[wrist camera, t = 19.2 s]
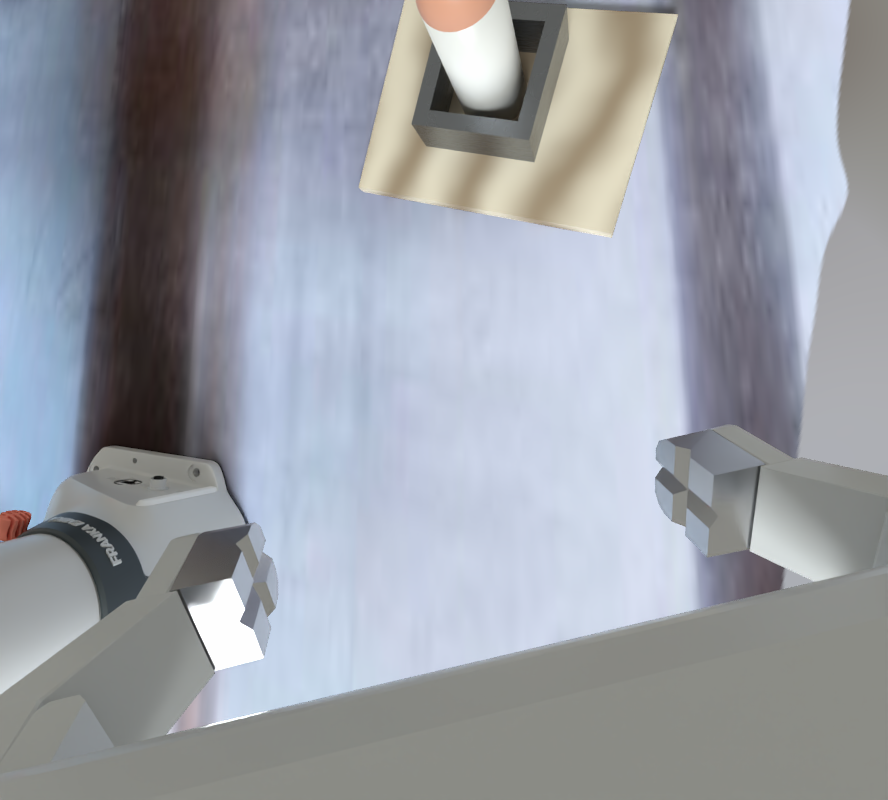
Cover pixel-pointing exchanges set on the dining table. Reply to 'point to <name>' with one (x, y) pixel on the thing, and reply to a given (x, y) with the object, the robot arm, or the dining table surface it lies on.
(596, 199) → the jig board
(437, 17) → the peach-domed white capsule
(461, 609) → the dining table surface
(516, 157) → the cradle
